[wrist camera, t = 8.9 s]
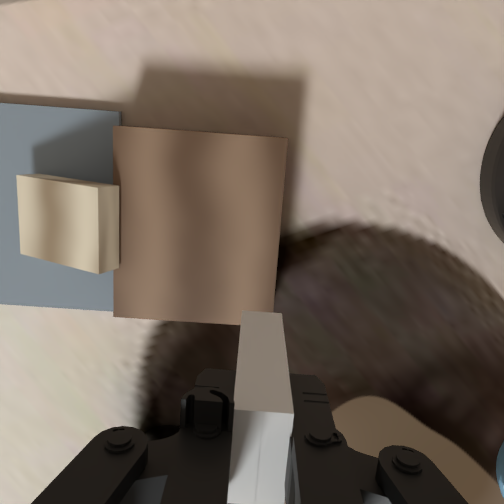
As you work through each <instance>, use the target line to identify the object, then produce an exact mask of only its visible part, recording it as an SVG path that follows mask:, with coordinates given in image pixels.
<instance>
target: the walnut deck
mask: <svg viewBox="0 0 504 504" xmlns="http://www.w3.org/2000/svg"><path fill="white" fill-rule="evenodd" d="M287 147H288V138H284V137H271V136H257V135H243V134H230V133H216V132H202V131H189V130H175V129H161V128H148V127H134V126H113V185H118V186H119V268H117V269H114V270H113V317H124V318H139V319H154V320H169V321H185V322H200V323H215V324H230V325H241V317H242V310H243V311H256V312H269V313H273V307H274V295H275V284H276V272H277V261H278V250H279V238H280V227H281V216H282V204H283V193H284V181H285V170H286V159H287Z"/></svg>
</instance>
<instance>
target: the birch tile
mask: <svg viewBox="0 0 504 504" xmlns="http://www.w3.org/2000/svg"><path fill="white" fill-rule="evenodd" d="M16 178H17V197H18V215H19V234H20V253H21V254H23V255H27V256H31V257H35V258H38V259H42V260H46V261H50V262H54V263H57V264H61V265H65V266H69V267H73V268H76V269H80V270H84V271H88V272H92V273H95V274H102V273H105V272H108V271H111V270H114V269H117V268H119V186H118V185H111V184H105V183H98V182H91V181H85V180H78V179H72V178H65V177H58V176H52V175H45V174H24V175H16Z"/></svg>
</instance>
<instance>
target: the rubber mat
mask: <svg viewBox="0 0 504 504" xmlns="http://www.w3.org/2000/svg"><path fill="white" fill-rule="evenodd" d="M113 126H121V112H117V111H104V110H90V109H76V108H63V107H49V106H36V105H22V104H9V103H0V304H7V305H22V306H37V307H52V308H68V309H83V310H98V311H113V270H111V271H108V272H105V273H102V274H95V273H92V272H88V271H84V270H80V269H76V268H73V267H69V266H65V265H61V264H57V263H54V262H50V261H46V260H42V259H38V258H35V257H31V256H27V255H23V254H21V253H20V234H19V215H18V197H17V178H16V175H24V174H45V175H52V176H58V177H65V178H72V179H78V180H85V181H91V182H98V183H105V184H111V185H113Z"/></svg>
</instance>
